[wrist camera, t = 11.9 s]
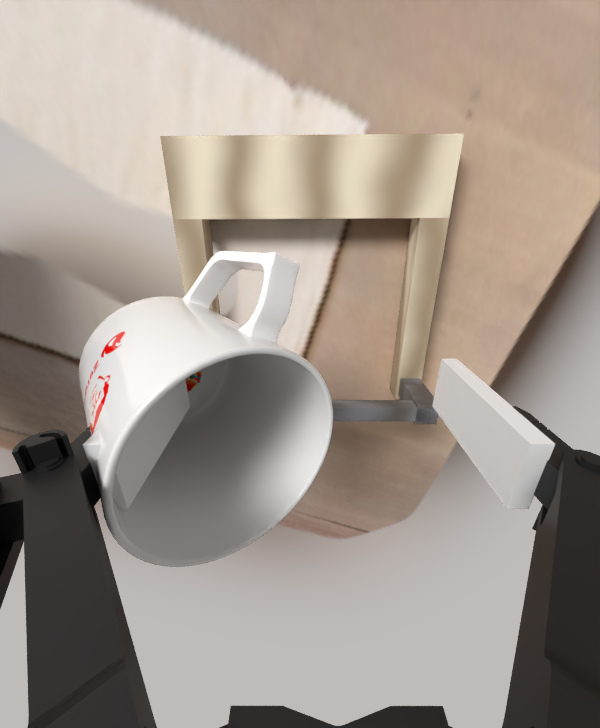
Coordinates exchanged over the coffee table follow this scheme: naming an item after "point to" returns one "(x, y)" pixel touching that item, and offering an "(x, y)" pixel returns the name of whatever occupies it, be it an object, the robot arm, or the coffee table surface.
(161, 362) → the mug
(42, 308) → the coffee table surface
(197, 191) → the beige and grey frame
